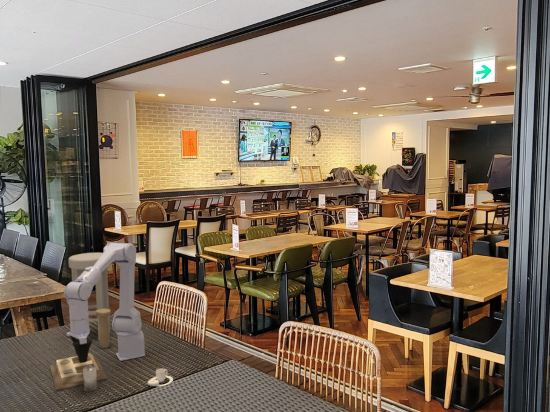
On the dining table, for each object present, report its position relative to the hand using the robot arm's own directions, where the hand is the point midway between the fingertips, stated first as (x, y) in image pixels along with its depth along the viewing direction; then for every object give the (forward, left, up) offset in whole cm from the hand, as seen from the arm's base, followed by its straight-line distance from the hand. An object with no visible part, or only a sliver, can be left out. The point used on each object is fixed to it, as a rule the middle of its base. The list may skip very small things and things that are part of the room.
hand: (81, 358), depth 160 cm
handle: (-13, -32, -10) cm, 36 cm away
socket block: (0, -12, -10) cm, 15 cm away
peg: (-2, +3, -10) cm, 10 cm away
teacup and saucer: (-21, +8, -10) cm, 25 cm away
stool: (-11, -47, -10) cm, 49 cm away
